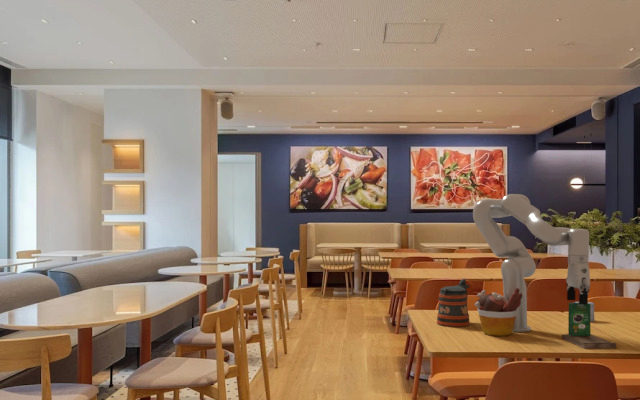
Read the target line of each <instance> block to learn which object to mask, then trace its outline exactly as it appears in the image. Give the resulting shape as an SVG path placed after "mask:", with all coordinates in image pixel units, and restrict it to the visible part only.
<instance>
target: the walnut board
mask: <svg viewBox="0 0 640 400" xmlns="http://www.w3.org/2000/svg"><path fill="white" fill-rule="evenodd" d="M561 339H562V340H564V341H566V342H568V343H571V344H573V345H576V346H577V347H580V348H582V349H590V350H591V349H595V350H596V349H617V343H616V342H615V341H614V342H612V341H609V340H608V339H607V340H606V339H604V338H601V337H600V336H597V335H594V334H590V336H570V335H569V334H568V333H567V334H561Z"/></svg>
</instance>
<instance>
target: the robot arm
mask: <svg viewBox="0 0 640 400" xmlns="http://www.w3.org/2000/svg"><path fill="white" fill-rule="evenodd" d="M511 216H512V217H513V218H515V219H516V220H518V221H519V222H521V223H522V224H523V225H524V226H526V227H527V229H528V230H529V232H530V233H531V234H532V235H533V236H534V237H536V238H537V239H538V240H540V241H542V242H543V243H545V244H547V245H548V246H551V247H557V246H559V247H562V246H567V263H568V266H567V273H566V274H567V276H566V278H565V282H566V292H567V293H566V299H567V301H576V289H578V290H579V294H578V296H579V297H578V302H579V304H581V305H587V304H588V302H589V301H588V300H589V299H588V298H589V292H590V288H591V276H590V275H591V274H590V266H589V254H590V253H589V252H590V249H589V248H590V231H589V229H585V228H570V227H566V226H565V227H561V226H558V227H557V226H552V225H551V224H549V223H548V222H546V221H545V220H543V218H542V217H541V210H540V209H539V208H537V207H536V206H534V205H532V204H531V200H530V199H529V198H528V197H527V196H526V195H524V194H521V193H520V194H519V193H509V194H506V195H504V196H503V198H501V199H492V198H491V199H490V198H487V199H485V198H484V199H481V200H479V201H478V202H477V203H475V205H474V207H473V210H472V218H473V221H474V222H473V223H475V226H476V228H477V230H478V231H479V232H480V234H481V235H482V237H483V238H484V240H485V242H486V243H487V244H488V247H489V249H490V250H491V251H492V253H493V254H494V255H495V257H497V258H501V259H502V258H506V259H504V260H503V261H502V263H501V265H500V272H501V277H502V285H503V288H502V289H503V297H505V299H506V300H507V301H509V299H510V297H511V295H512V294H513V293H514V290H515V289H516V288H519V290H520V291H519V293H522V295H523V296H522V298H521V300H520V301H521V304H520V306H519V307H518V308H517V309H516V310H517V314H516V318H515V323H514V328H513V332H514V333H525V332H531V331H532V328H531V327H530V326H528V311H527V310H528V309H527V307H528V306H527V303H528V302H527V301H528V300H527V299H528V298H527V284H526V282H525V278H530V277H532V276H533V275H534V274H535V273H536V267H537V265H536V263H535V260H534V258H533V257H532V255H531V254H530V252H529V250H527V248H526V246H525V245H524V243H523V242H522V241H521V240H520V239H519V238H517V237H516V236H512V235H508V236H507V235H506V234H505V233H504V231H503V229H502V228H501V226H500V225H499V224H498V223H497V222H496V221H495V220H494V219H499V218H506V217H511ZM513 332H512V333H513Z"/></svg>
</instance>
